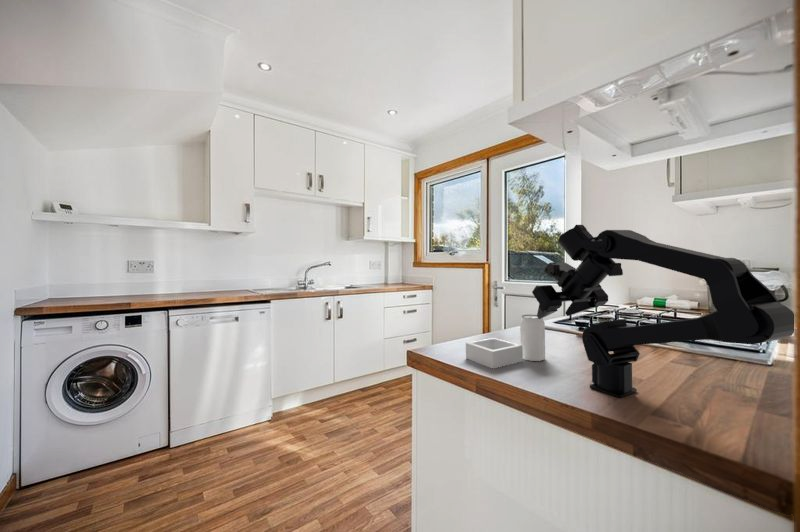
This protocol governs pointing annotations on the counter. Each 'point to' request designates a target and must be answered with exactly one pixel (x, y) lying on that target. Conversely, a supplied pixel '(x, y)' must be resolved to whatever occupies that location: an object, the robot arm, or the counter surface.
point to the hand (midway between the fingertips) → (552, 315)
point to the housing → (494, 352)
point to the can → (532, 337)
